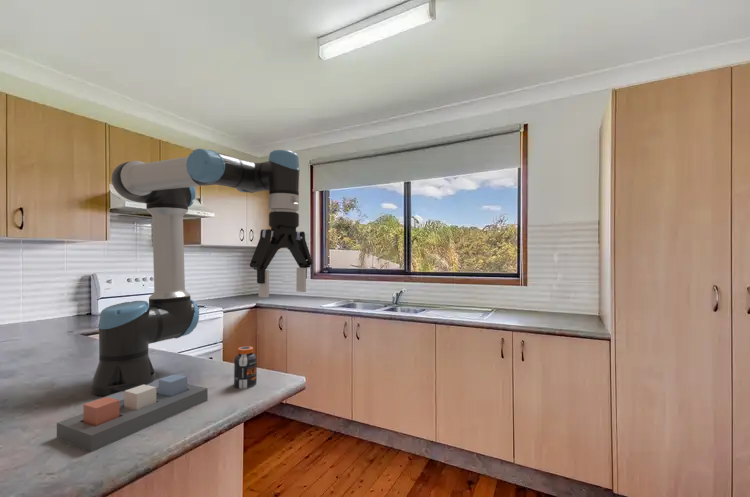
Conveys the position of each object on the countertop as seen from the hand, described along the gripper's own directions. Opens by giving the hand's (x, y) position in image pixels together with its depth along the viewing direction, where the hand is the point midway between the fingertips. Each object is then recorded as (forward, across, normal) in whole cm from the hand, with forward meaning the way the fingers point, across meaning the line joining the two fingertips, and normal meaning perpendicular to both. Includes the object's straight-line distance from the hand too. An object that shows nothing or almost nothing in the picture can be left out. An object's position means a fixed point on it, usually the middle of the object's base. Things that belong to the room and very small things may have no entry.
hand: (283, 294), depth 95 cm
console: (+27, -25, +20) cm, 42 cm away
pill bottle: (+28, +1, +15) cm, 31 cm away
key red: (+24, -33, +19) cm, 45 cm away
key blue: (+24, -17, +20) cm, 36 cm away
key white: (+24, -25, +20) cm, 40 cm away
